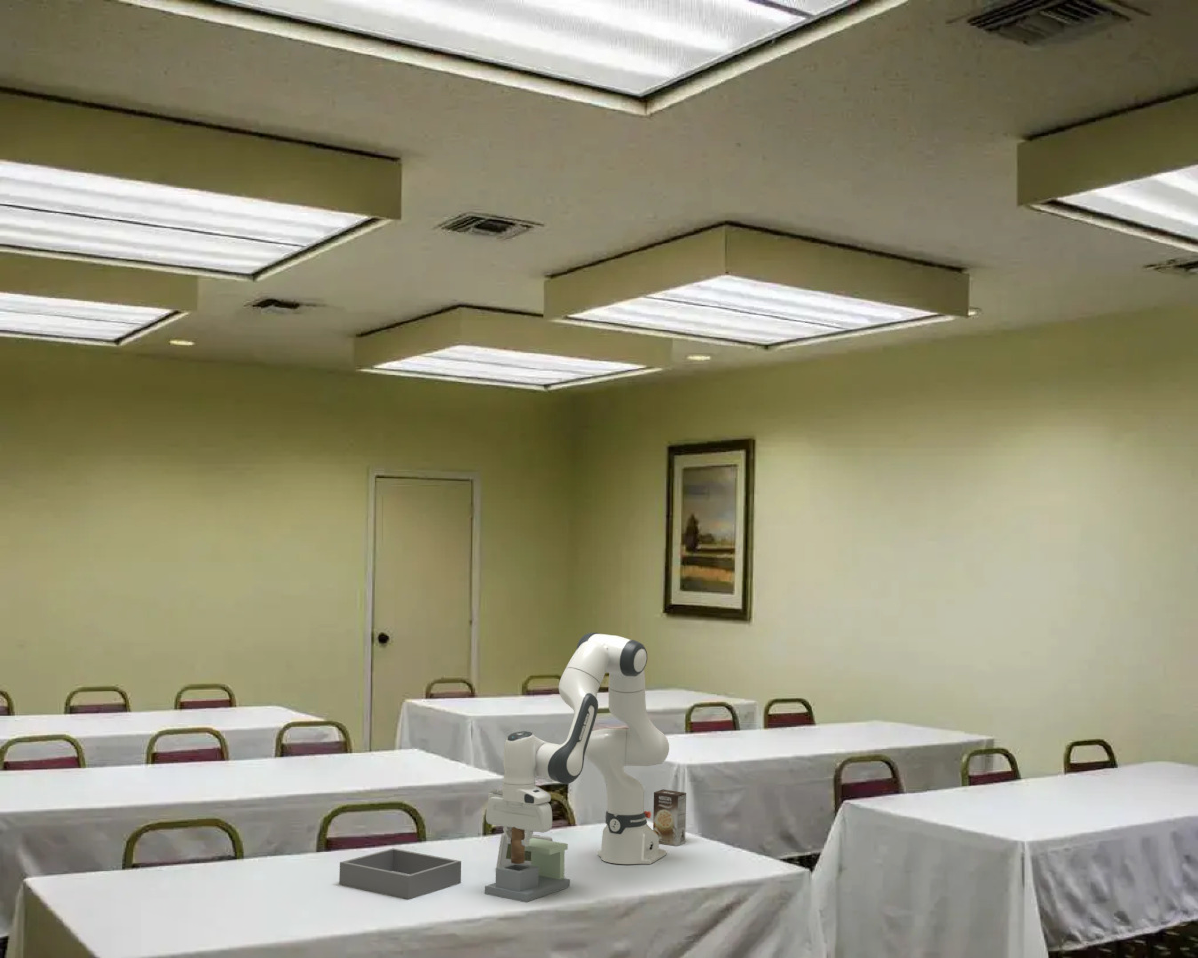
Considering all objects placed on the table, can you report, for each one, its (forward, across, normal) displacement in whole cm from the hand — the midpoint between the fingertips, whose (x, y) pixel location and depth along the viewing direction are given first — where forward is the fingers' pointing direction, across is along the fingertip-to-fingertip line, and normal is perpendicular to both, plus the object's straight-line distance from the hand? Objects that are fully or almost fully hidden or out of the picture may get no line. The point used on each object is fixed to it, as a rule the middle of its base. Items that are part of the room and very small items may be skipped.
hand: (517, 844), depth 347 cm
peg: (+5, 0, 0) cm, 5 cm away
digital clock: (+13, -12, +20) cm, 27 cm away
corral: (+13, -32, -11) cm, 36 cm away
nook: (+13, 0, +5) cm, 14 cm away
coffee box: (+13, +1, +79) cm, 80 cm away
